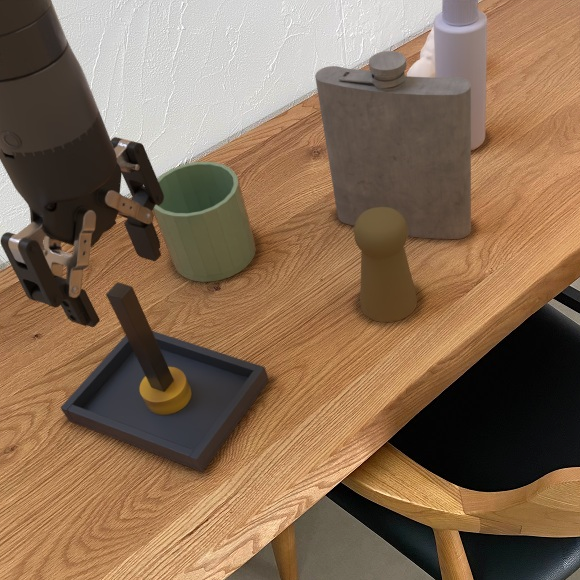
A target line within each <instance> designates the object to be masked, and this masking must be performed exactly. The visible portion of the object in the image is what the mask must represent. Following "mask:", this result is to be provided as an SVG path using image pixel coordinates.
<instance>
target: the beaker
mask: <svg viewBox="0 0 580 580" xmlns="http://www.w3.org/2000/svg"><path fill="white" fill-rule="evenodd" d="M157 180H158V182H159V184H160V187H161V189H162V192H163V194H164V200H163V202H162V204H160V205H155V207H154V209H153V211H152V212H153V214H154V218H155V220H156V223H157V226H158V228H159V231H160V234H161V237H162V238H163V241H164V244H165V246H166V249H167V251H168V255H169V257H170V260H171V262H172V264H173V267H174V269H175V270H176V272H177V273H178V274H179V275H180V276H182V277H184V278H186V279H188V280H190V281H195V282H198V283H199V282H201V283H209V282H210V283H211V282H212V283H213V282H218V281H222V280H226V279H229V278H231V277H234V276H235V275H237V274H239V273H240V272H241V271H244V270H245V269H246V268H247V267H248V266H249V265H250V263H251V262H252V261H253V259H254V257H255V256H256V255H255V254H256V251H257V250H256V248H257V246H256V242H255V237H254V232H253V229H252V226H251V221H250V218H249V213H248V210H247V206H246V204H245V199H244V196H243V191H242V189H241V184H240V181H239V177H238V175H237V174H236V172H235V171H234V170H233V169H232V167H229V166H228V165H225V164H224V163H219V162H216V161H195V162H189V163H184V164H181V165H178V166H176V167H173V168H171V169H169V170H167V171H166V172H164V173H163V174H161V175H160V176H158V177H157Z"/></svg>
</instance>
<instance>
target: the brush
mask: <svg viewBox="0 0 580 580" xmlns="http://www.w3.org/2000/svg"><path fill="white" fill-rule="evenodd" d="M133 287H134V286H132V285H129V284H125V283H122V282H120V281H118V282H117V281H116V282H115V284H114V285H113V286H112V287H111V288H110V289H109V290H108V291H107V292H106V293H105V296H106V298H107V299H108V301H109V304H110V305H111V308H112V310H113V312H114V314H115V316H116V318H117V320H118V323H119V324H120V326H121V329H122V330H123V333H124V334H125V335H126V337H127V339H128V341H129V343H130V345H131V347H132V349H133V351H134V353H135V355H136V357H137V359H138V361H139V363H140V365H141V368H142V370H143V372H144V374H145V377H144V378H143V380H142V382H141V384H140V394H141V396H142V398H143V400H144V402H145V404H146V406H147V408H148V409H149V410H150V411H151V412H153V413H155V414H158V415H169V414H173V413H176V412H178V411H179V410H181V409H182V408H184V407H185V406H186V405H187V404H188V402H189V400H190V398H191V388H190V386H189V383H188V381H187V379H186V376H185V374H184V373H183V372H182V371H181V370H180V369H178V368H175V367H168V366H167V363H166V361H165V359H164V357H163V354H162V352H161V350H160V348H159V345H158V343H157V341H156V339H155V336H154V334H153V332H152V331H153V330H152V328H151V325H150V322H149V321H148V319H147V317H146V314H145V312H144V309H143V307H142V305H141V303H140V300H139V298H138V296H137V294H136V291H135V290H134V288H133ZM125 335H124V336H125Z"/></svg>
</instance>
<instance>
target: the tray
mask: <svg viewBox="0 0 580 580" xmlns="http://www.w3.org/2000/svg"><path fill="white" fill-rule="evenodd" d="M152 332H153V334H154V336H155V339H156V341H157V343H158V345H159V348H160V350H161V352H162V354H163V357H164V359H165V361H166V363H167V366H168V367H175V368H178V369H180V370H181V371H182V372H183V373H184V374H185V376H186V379H187V381H188V383H189V386H190V388H191V398H190V400H189V402H188V404H187V405H186V406H185V407H184V408H182V409H181V410H179V411H178V412H176V413H173V414H169V415H158V414H155V413H153V412H151V411H150V410H149V409H148V408H147V406H146V404H145V402H144V400H143V398H142V396H141V394H140V384H141V382H142V380H143V378H144V377H145V374H144V372H143V370H142V368H141V365H140V363H139V361H138V359H137V357H136V355H135V353H134V351H133V349H132V347H131V345H130V343H129V341H128V339H127V337H126V335H124V336H123V337H122V339H121V340H120V341H119V342H118V343H117V344H116V345H115V346H114V348H113V349H111V351H110V352H109V353H108V354H107V355H106V356H105V358H103V360H101V362H100V363H99V364H98V365H97V366H96V368H94V369H93V371H91V373H90V374H89V375H88V376H87V377H86V379H84V381H83V382H82V383H81V384H80V385H79V386H78V387H77V388H76V390H74V392H73V393H72V394H71V395H70V396H69V397H68V399H67V400H66V401H64V403H63V404H62V405H61V406H60V408H59V409H60V410H61V411H62V413H63V414H64V416H65V418H66V419H67V421H68V422H71V423H73V424H75V425H78V426H81V427H83V428H87V429H89V430H92V431H94V432H97V433H99V434H102V435H105V436H107V437H110V438H112V439H115V440H117V441H121V442H122V443H125V444H128V445H130V446H133V447H136V448H138V449H140V450H143V451H146V452H149V453H151V454H154V455H157V456H159V457H162V458H164V459H167V460H170V461H172V462H174V463H177V464H180V465H183V466H185V467H188V468H190V469H193V470H196V471H199V472H200V473H204V472H205V470H206V469H207V467H208V466H209V465H210V463H212V460H214V458H215V456H216V455H217V454H218V452H220V449H221V448H222V447H223V446H224V444H225V443H226V441H228V439H229V437H230V436H231V434H232V433H233V431H234V430H235V429H236V427H237V426H238V424H239V423H240V422H241V420H242V419H243V417H244V416H245V415H246V413H247V412H248V411H249V409H250V408H251V407H252V405H253V404H254V403H255V402H256V400H257V398H258V397H259V395H260V394H261V392H262V391H263V390H264V388H266V386H267V384H269V381H270V380H269V377H268V373H267V369H266V367H265V366H263V365H260V364H257V363H253V362H250V361H248V360H244V359H240V358H238V357H235V356H231V355H228V354H226V353H222V352H219V351H216V350H213V349H210V348H207V347H204V346H201V345H197V344H195V343H191V342H188V341H185V340H182V339H179V338H176V337H173V336H170V335H166V334H163V333H161V332H157V331H155V330H152Z"/></svg>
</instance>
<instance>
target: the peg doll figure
mask: <svg viewBox="0 0 580 580" xmlns="http://www.w3.org/2000/svg"><path fill="white" fill-rule="evenodd" d="M353 234H354V235H353V237H354V242H355V244H356V245H357V247H358V249H359V250H360V251H361V253H360V254H361V256H360V257H361V258H360V288H359V289H360V290H359V291H360V292H359V294H360V295H359V304H360V310H361V311H362V313H363V314H364V316H366V317H367V318H369V319H370V320H373V321H376V322H379V323H393V322H394V323H395V322H398V321H401V320H403V319H406V318H407V317H408V316H410V315H411V314H412V313H413V312H414V310H415V309H416V308H417V305H418V298H417V292H416V288H415V284H414V281H413V277H412V273H411V269H410V265H409V261H408V257H407V253H406V249H405V245H406V244H407V240H408V237H409V236H408V228H407V223H406V221H405V219H404V217H403V216H402V215H401V214H400V213H399V212H398V211H396V210H395V209H392V208H389V207H376V208H372V209H369V210H367V211H365V212H363V213H362V214H361V215H360V216H359V217H358V219H357V221H356V223H355V226H353Z"/></svg>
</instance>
